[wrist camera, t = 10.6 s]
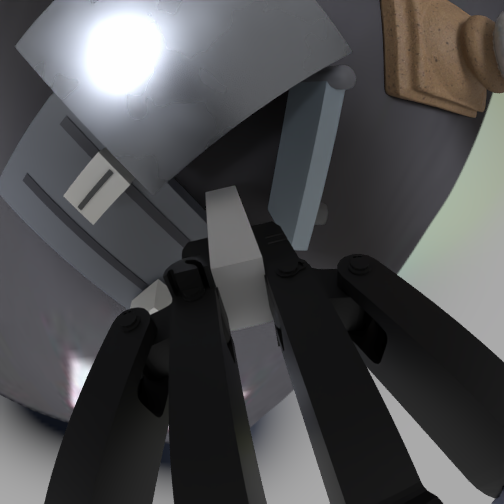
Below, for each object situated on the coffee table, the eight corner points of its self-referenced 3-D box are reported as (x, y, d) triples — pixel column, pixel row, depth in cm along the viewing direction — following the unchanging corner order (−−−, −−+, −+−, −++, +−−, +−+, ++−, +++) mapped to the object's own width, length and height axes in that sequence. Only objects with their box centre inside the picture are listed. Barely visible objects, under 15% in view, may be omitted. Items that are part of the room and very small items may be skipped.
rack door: (264, 206, 20) (292, 257, 14) (289, 70, 15) (334, 61, 9) (299, 209, 20) (337, 258, 15) (326, 79, 15) (383, 80, 10)
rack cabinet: (81, 58, 12) (14, 46, 5) (201, -34, 10) (207, -96, 3) (171, 154, 17) (152, 195, 10) (291, 65, 15) (352, 52, 8)
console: (8, 180, 14) (-6, 189, 13) (81, 73, 12) (68, 72, 11) (186, 333, 26) (187, 349, 24) (272, 275, 24) (278, 291, 22)
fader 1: (82, 178, 14) (62, 196, 12) (115, 141, 13) (97, 152, 11) (108, 203, 15) (92, 225, 13) (141, 168, 15) (129, 185, 12)
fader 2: (131, 300, 20) (125, 330, 17) (158, 278, 19) (153, 308, 16) (154, 317, 21) (151, 346, 18) (181, 297, 20) (180, 327, 18)
